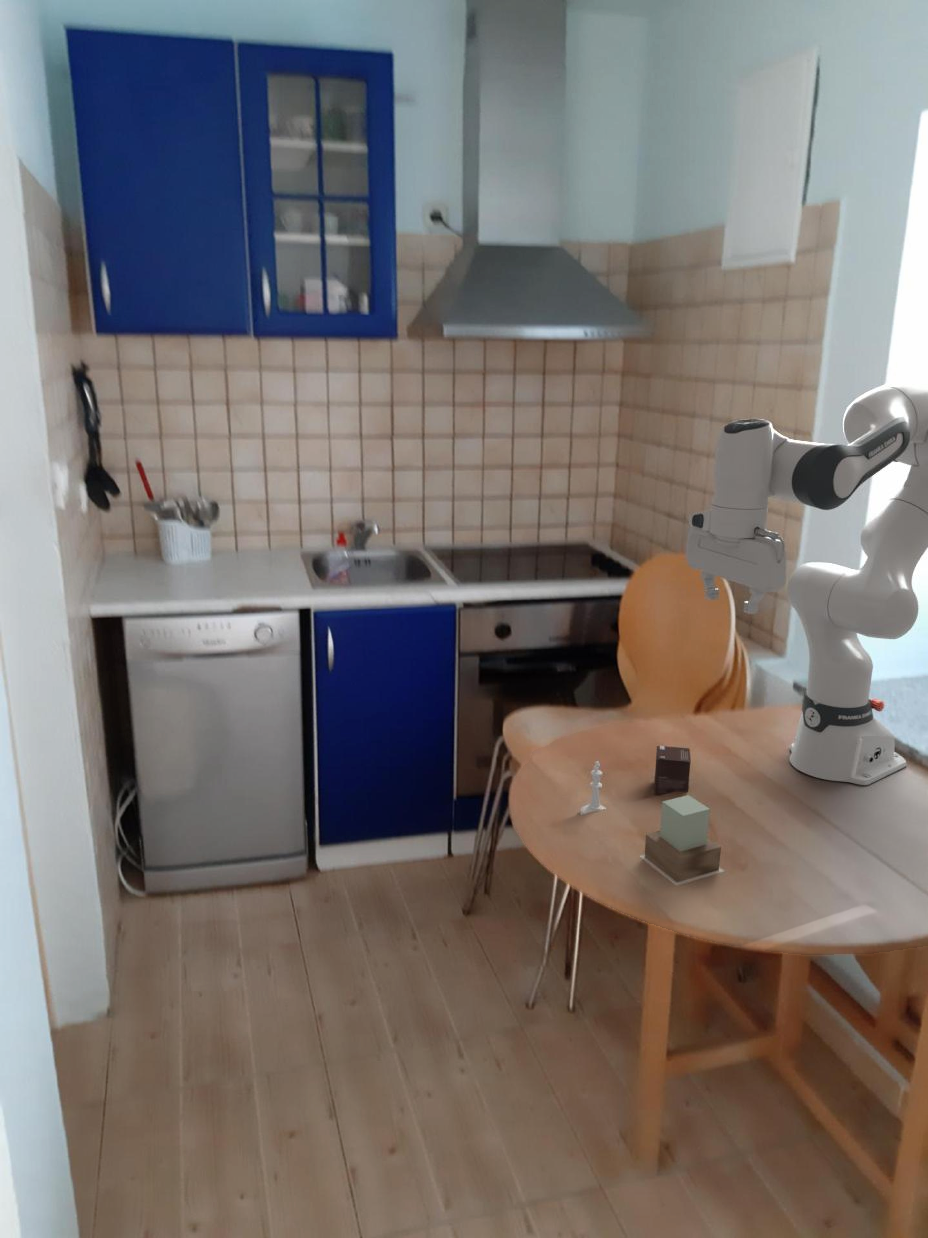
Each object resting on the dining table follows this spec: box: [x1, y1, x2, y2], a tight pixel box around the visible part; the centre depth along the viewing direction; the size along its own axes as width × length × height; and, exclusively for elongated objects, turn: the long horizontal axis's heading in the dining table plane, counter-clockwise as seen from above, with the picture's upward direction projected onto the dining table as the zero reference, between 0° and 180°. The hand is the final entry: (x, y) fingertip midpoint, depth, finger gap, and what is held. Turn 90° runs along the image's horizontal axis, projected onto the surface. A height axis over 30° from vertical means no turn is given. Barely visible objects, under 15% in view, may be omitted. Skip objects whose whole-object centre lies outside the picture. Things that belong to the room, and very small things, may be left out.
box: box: [653, 745, 691, 796], centre depth 173 cm, size 6×6×7 cm
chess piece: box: [579, 760, 607, 816], centre depth 163 cm, size 5×5×10 cm
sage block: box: [659, 794, 711, 852], centre depth 145 cm, size 5×5×6 cm
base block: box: [644, 830, 722, 882], centre depth 146 cm, size 8×8×4 cm
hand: (730, 605), depth 156 cm, fingers open, 8 cm apart
